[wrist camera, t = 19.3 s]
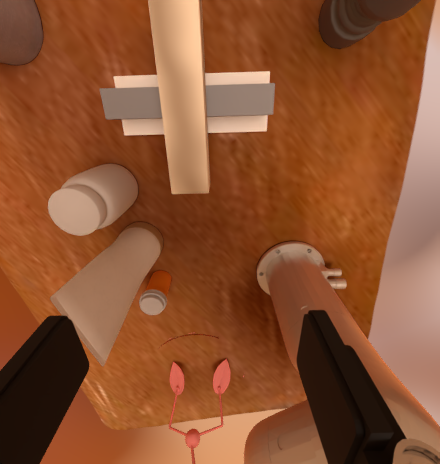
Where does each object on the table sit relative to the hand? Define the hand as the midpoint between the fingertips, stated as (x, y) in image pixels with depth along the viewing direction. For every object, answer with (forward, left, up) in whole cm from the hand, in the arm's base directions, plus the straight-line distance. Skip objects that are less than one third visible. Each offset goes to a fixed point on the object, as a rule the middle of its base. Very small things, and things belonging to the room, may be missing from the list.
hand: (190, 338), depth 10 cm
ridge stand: (+2, -10, -30) cm, 32 cm away
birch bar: (+2, -10, -23) cm, 25 cm away
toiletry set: (+13, +10, -31) cm, 35 cm away
